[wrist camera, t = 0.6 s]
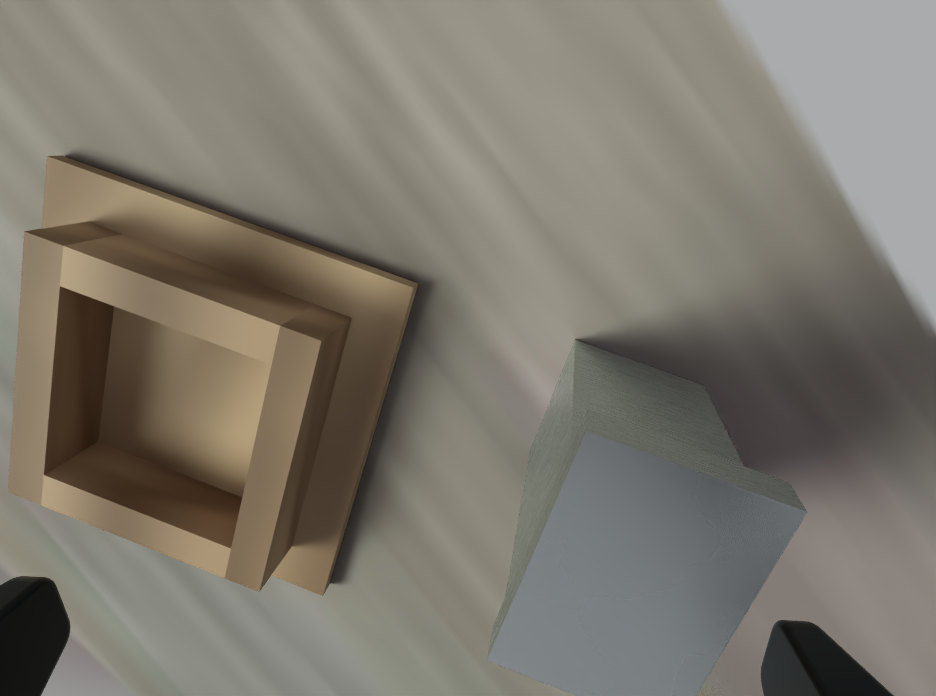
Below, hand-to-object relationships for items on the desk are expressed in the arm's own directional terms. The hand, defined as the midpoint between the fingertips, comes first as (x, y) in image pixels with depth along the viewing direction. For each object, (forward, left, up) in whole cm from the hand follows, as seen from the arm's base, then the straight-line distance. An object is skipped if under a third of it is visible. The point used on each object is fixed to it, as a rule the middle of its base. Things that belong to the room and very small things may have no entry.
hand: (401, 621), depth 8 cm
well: (+9, +5, -12) cm, 16 cm away
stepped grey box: (-4, +1, -12) cm, 13 cm away
